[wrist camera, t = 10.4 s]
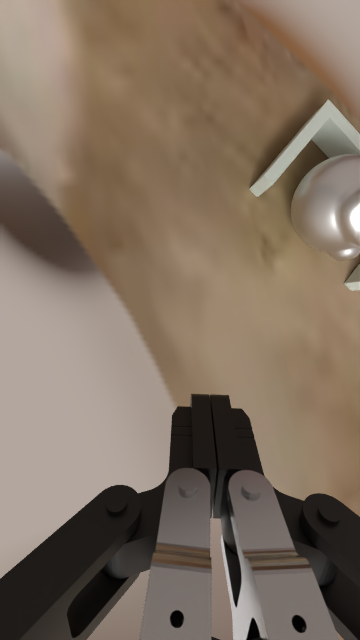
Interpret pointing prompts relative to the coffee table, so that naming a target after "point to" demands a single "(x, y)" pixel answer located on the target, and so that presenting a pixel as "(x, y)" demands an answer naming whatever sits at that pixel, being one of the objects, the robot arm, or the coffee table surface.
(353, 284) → the grey u-shaped frame
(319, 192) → the ghost figurine
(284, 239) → the coffee table surface
